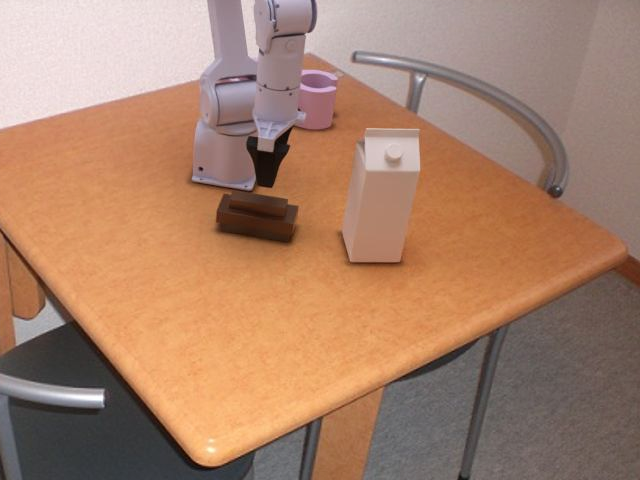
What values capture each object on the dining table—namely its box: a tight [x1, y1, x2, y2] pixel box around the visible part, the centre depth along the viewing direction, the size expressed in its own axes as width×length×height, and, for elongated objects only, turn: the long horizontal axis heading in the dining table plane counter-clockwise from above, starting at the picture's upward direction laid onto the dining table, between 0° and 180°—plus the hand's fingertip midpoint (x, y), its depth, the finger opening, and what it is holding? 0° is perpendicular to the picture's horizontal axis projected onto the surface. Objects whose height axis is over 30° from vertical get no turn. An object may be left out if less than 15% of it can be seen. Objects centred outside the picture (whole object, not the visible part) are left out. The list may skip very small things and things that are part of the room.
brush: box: [215, 189, 299, 243], centre depth 126 cm, size 11×5×5 cm, turn 79°
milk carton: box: [341, 127, 421, 263], centre depth 119 cm, size 7×7×19 cm
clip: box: [216, 57, 339, 131], centre depth 152 cm, size 20×12×7 cm, turn 81°
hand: (270, 171), depth 123 cm, fingers open, 7 cm apart
